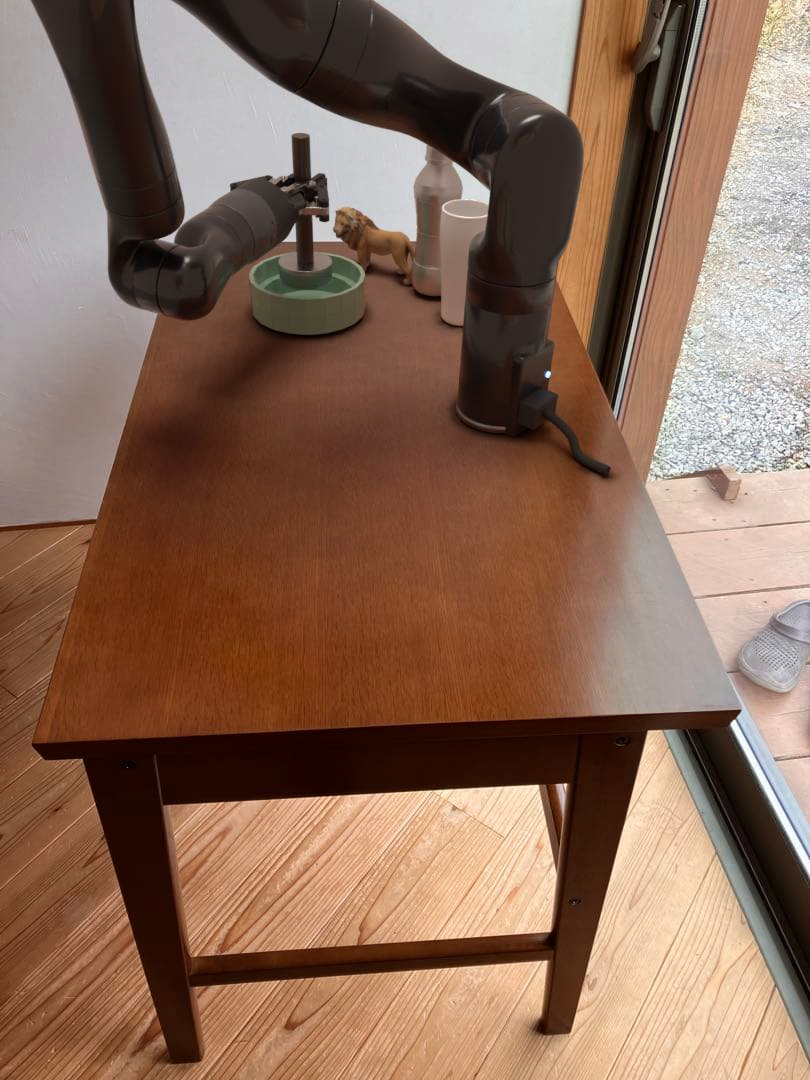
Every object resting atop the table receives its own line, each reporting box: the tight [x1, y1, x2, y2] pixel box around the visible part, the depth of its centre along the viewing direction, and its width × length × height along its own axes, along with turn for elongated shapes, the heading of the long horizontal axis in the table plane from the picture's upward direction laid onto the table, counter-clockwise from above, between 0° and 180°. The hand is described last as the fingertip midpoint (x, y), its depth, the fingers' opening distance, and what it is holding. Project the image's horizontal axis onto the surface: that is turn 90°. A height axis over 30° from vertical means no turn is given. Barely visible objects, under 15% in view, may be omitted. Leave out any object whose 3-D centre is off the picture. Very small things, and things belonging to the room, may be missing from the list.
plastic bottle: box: [411, 144, 464, 297], centre depth 120 cm, size 6×7×20 cm
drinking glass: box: [440, 198, 489, 327], centre depth 116 cm, size 7×7×15 cm
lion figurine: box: [332, 206, 415, 286], centre depth 128 cm, size 15×5×9 cm, turn 70°
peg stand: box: [279, 132, 333, 290], centre depth 112 cm, size 7×7×18 cm
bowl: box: [248, 251, 366, 336], centre depth 119 cm, size 15×15×6 cm
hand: (312, 179), depth 112 cm, fingers closed on peg stand
